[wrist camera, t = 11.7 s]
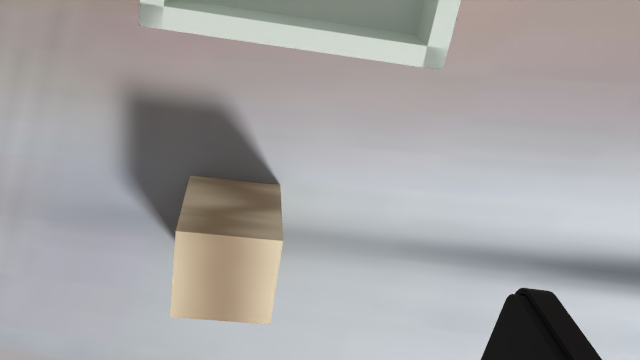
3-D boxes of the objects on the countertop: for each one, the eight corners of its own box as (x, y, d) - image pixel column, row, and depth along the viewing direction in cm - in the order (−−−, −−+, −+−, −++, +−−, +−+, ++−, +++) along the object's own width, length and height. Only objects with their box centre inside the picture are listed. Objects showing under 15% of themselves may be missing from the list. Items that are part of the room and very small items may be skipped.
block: (280, 184, 34) (283, 240, 28) (269, 258, 36) (269, 324, 31) (190, 175, 33) (175, 231, 28) (184, 251, 35) (169, 317, 30)
